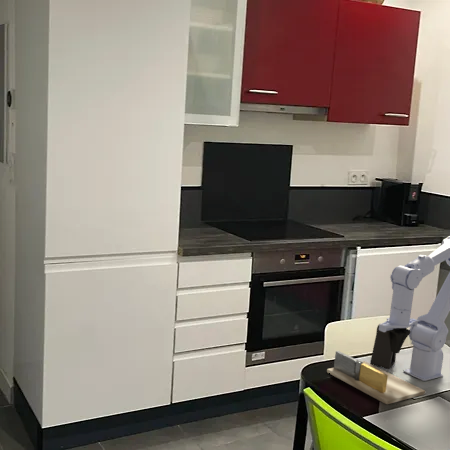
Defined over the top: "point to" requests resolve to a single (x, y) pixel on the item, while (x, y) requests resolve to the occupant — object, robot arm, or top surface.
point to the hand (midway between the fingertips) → (394, 352)
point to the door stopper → (382, 351)
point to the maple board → (394, 387)
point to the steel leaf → (347, 365)
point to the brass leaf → (373, 378)
